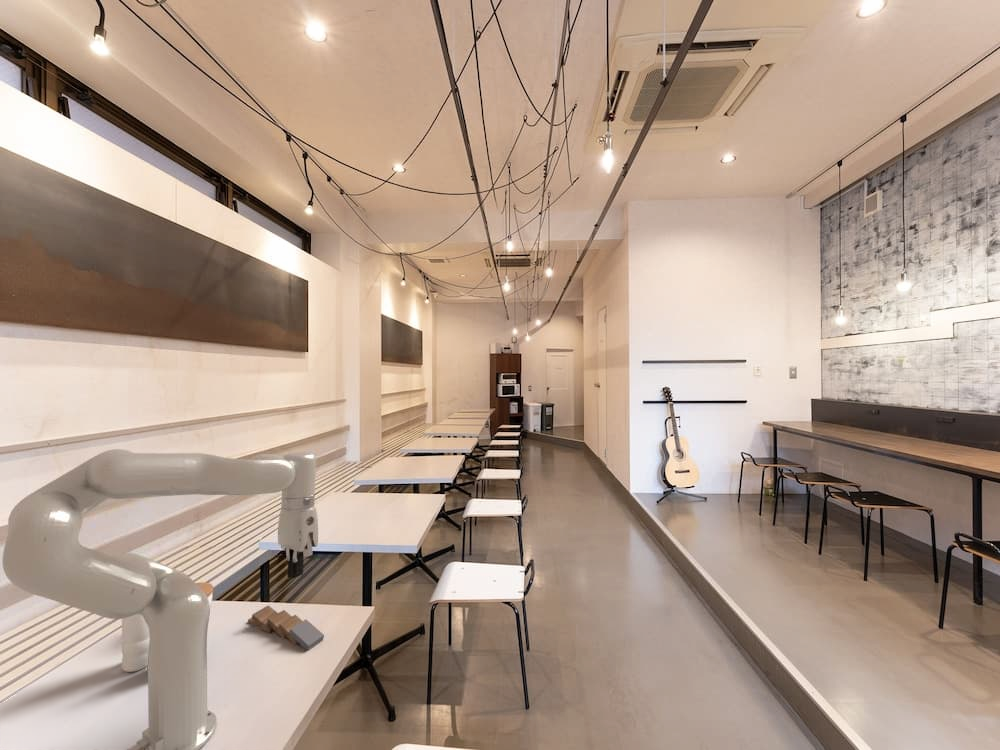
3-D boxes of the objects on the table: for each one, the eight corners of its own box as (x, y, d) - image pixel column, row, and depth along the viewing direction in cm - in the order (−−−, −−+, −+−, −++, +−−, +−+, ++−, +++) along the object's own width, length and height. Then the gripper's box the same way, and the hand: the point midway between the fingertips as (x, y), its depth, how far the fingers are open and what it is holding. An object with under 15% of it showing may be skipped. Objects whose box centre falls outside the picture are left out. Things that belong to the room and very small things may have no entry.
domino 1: (280, 618, 124) (264, 611, 128) (264, 627, 119) (247, 619, 123) (280, 623, 124) (264, 616, 128) (264, 632, 119) (247, 624, 123)
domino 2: (285, 618, 122) (268, 605, 125) (269, 628, 118) (252, 614, 121) (284, 623, 123) (267, 609, 126) (268, 633, 118) (251, 619, 121)
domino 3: (300, 624, 120) (284, 609, 123) (284, 634, 115) (268, 618, 119) (299, 629, 120) (283, 614, 124) (283, 638, 116) (267, 623, 119)
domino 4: (312, 629, 117) (295, 614, 121) (296, 639, 113) (279, 623, 116) (311, 634, 117) (294, 619, 121) (295, 644, 113) (278, 628, 116)
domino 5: (324, 635, 115) (306, 619, 118) (308, 645, 110) (290, 628, 114) (323, 640, 115) (305, 624, 118) (307, 650, 110) (289, 633, 114)
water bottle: (116, 667, 104) (116, 570, 104) (150, 651, 111) (149, 559, 111) (129, 677, 101) (128, 576, 101) (163, 659, 107) (162, 565, 107)
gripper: (331, 503, 102) (328, 577, 102) (292, 494, 109) (290, 563, 109) (304, 510, 96) (301, 589, 95) (265, 501, 103) (262, 574, 102)
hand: (295, 575), depth 102 cm, fingers closed
